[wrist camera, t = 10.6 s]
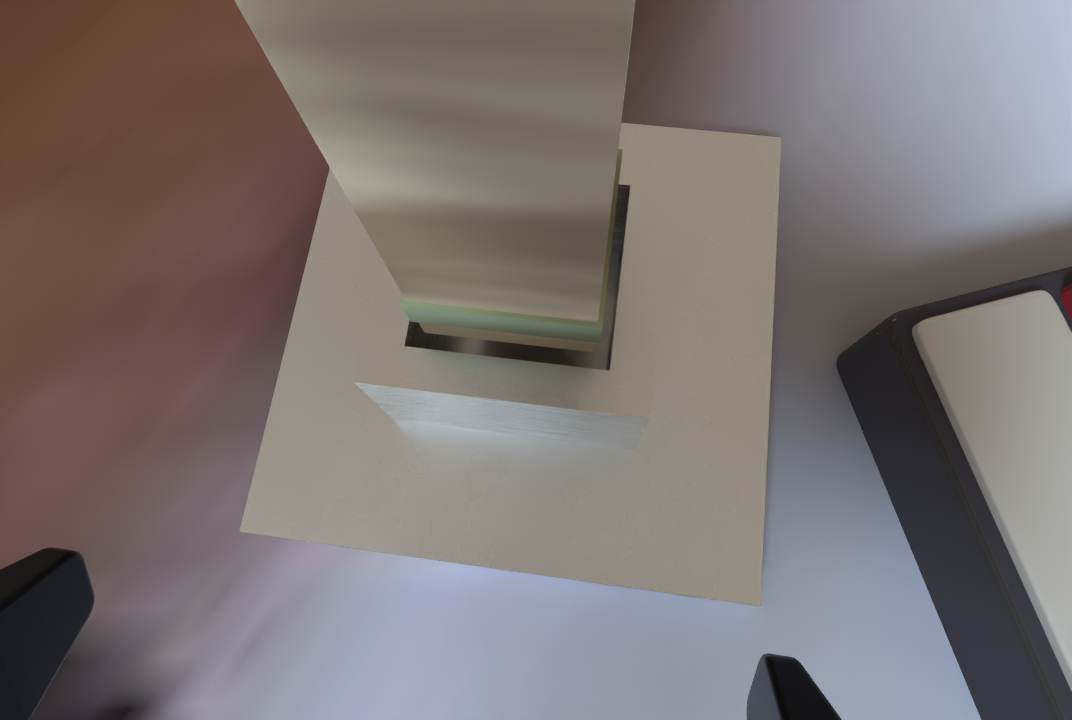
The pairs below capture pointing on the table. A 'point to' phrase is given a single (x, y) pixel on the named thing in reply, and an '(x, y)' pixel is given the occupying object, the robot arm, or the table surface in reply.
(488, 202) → the column
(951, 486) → the calculator
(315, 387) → the sleeve stand
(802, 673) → the robot arm
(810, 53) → the table surface
